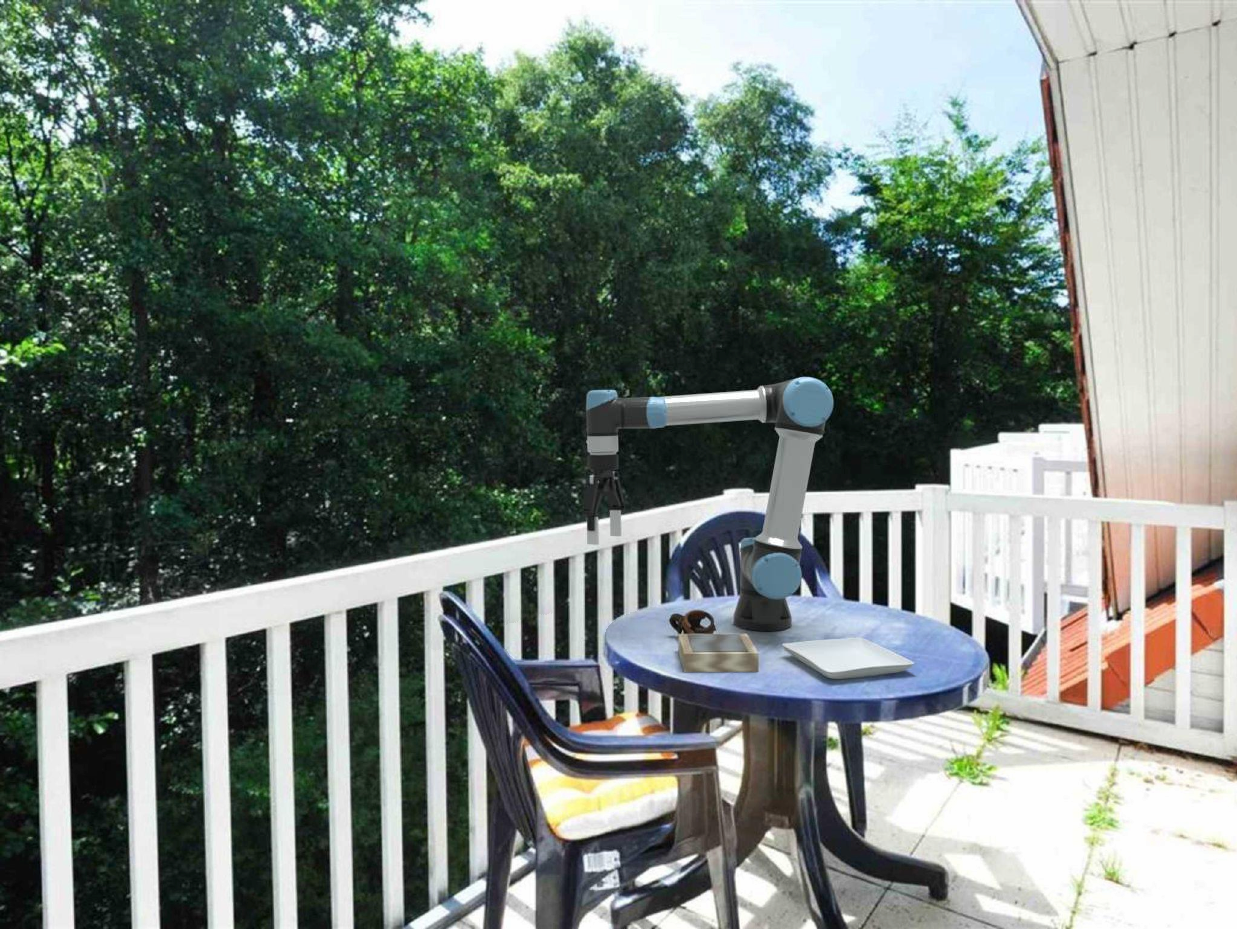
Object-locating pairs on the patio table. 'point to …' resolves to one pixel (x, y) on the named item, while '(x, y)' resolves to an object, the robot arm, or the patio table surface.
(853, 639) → the salad plate
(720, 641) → the wooden tray
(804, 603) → the patio table surface
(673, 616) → the pottery mug
